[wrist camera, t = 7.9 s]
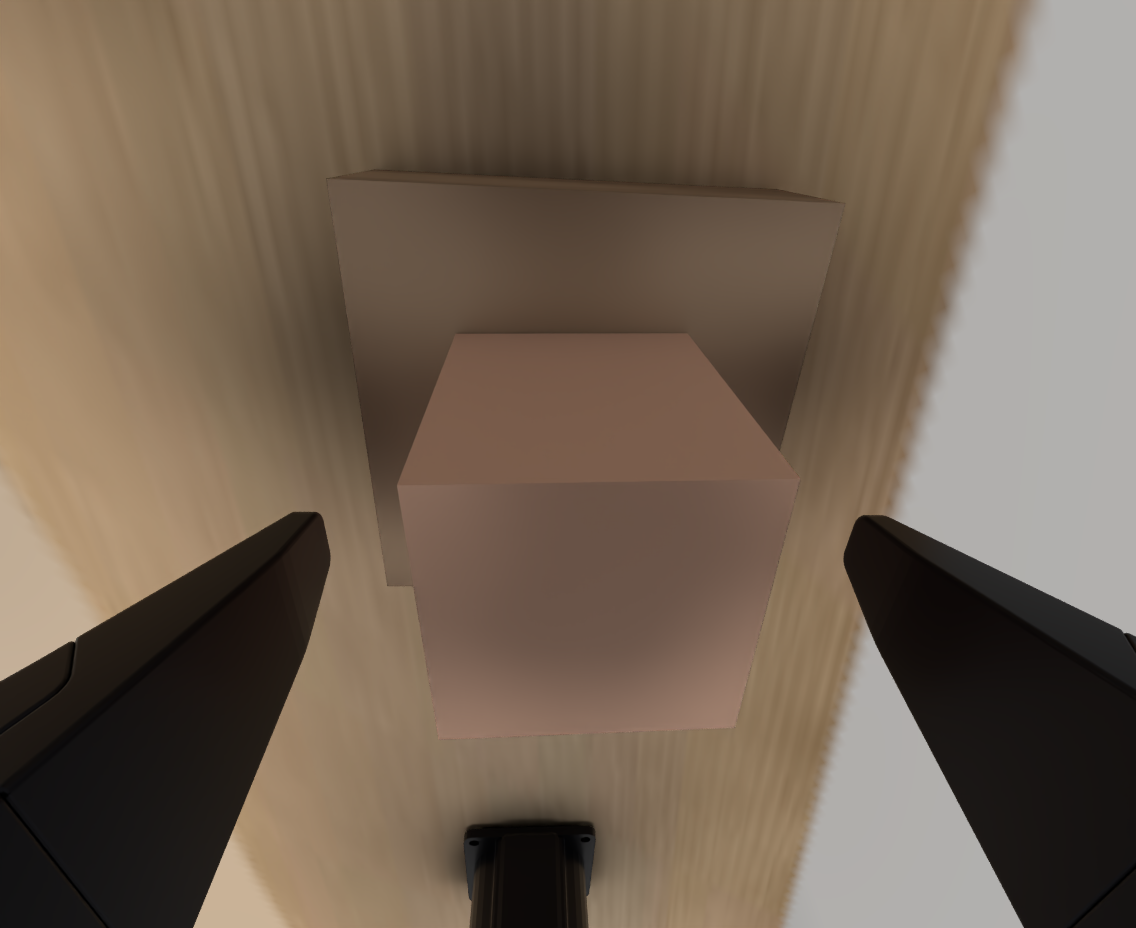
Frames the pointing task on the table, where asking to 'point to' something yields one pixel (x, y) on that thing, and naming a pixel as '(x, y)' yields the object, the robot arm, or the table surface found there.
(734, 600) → the terracotta block
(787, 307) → the block
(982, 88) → the table surface
